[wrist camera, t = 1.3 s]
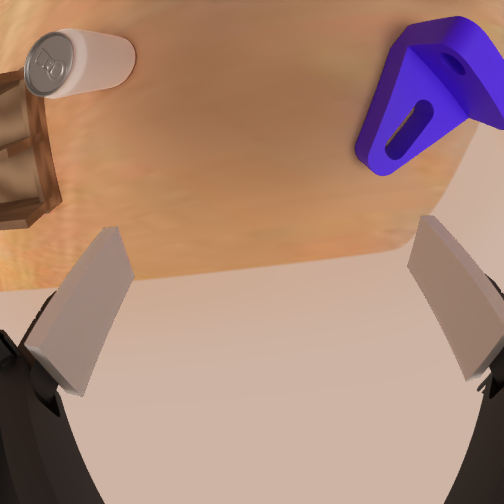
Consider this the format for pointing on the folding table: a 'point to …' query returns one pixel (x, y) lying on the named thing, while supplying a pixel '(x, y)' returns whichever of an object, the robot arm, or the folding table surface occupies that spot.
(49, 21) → the folding table surface
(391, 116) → the bracket
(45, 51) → the can
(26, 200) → the rack
